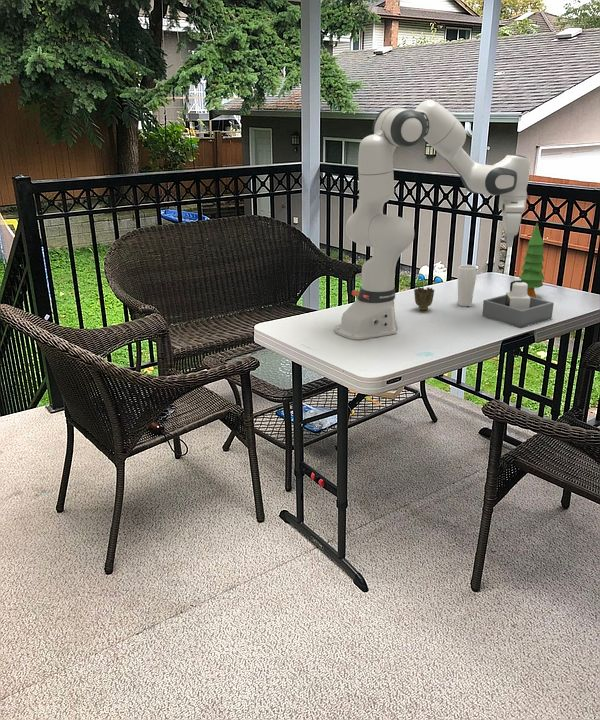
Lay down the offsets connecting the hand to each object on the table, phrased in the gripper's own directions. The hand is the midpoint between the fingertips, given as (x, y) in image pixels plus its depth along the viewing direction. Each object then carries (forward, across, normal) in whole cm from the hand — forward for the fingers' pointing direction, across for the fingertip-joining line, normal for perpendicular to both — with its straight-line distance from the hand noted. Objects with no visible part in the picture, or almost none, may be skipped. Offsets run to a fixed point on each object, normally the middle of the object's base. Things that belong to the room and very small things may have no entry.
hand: (507, 244), depth 223 cm
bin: (+26, +3, +6) cm, 27 cm away
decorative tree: (+26, -25, +13) cm, 38 cm away
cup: (+26, -2, -28) cm, 38 cm away
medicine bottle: (+25, +2, +5) cm, 26 cm away
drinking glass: (+26, -11, -12) cm, 31 cm away
